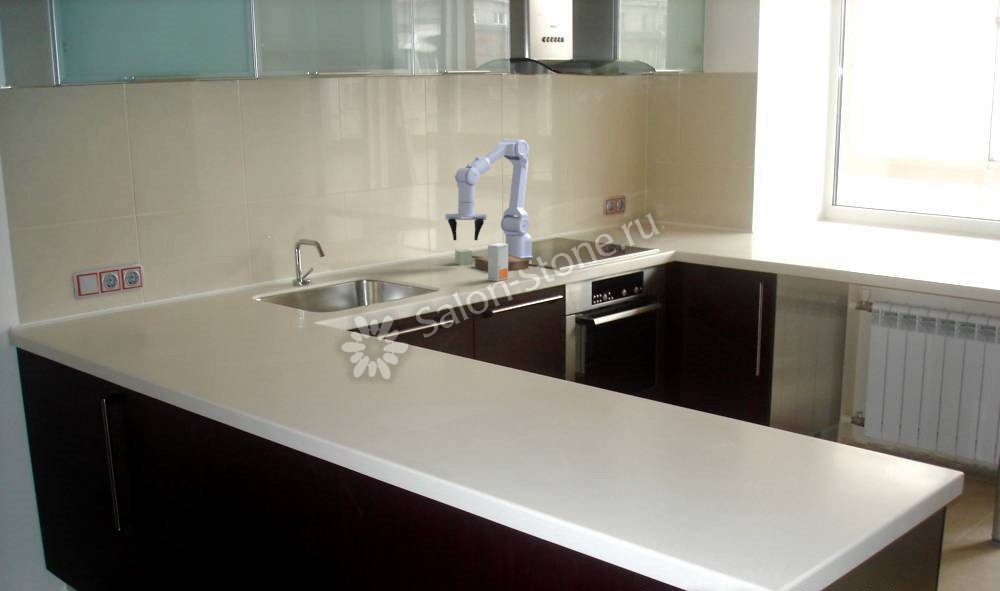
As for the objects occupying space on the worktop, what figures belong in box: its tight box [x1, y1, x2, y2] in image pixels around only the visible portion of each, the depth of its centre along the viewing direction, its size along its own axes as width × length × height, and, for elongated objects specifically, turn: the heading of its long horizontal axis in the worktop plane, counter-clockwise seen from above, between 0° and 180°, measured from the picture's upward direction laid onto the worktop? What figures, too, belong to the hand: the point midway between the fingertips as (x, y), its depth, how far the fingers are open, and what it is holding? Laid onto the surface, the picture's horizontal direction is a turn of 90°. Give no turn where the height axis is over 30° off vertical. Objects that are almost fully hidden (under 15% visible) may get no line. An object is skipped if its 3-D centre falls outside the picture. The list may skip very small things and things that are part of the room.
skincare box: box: [487, 242, 509, 282], centre depth 334 cm, size 6×4×12 cm
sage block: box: [454, 248, 473, 266], centre depth 364 cm, size 4×4×5 cm
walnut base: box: [474, 254, 530, 272], centre depth 356 cm, size 14×14×3 cm
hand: (465, 240), depth 355 cm, fingers open, 7 cm apart
